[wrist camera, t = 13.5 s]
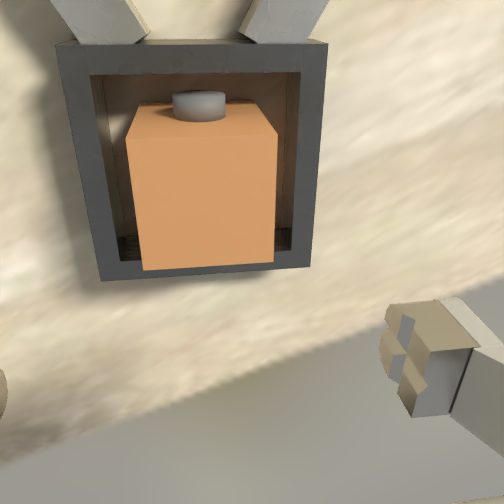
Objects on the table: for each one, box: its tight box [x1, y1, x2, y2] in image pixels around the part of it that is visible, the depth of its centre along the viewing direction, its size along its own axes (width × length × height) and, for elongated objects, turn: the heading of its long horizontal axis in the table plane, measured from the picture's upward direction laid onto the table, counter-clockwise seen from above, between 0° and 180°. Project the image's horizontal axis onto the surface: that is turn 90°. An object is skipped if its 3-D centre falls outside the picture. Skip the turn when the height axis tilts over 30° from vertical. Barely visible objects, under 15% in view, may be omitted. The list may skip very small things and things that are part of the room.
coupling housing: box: [50, 0, 329, 281], centre depth 18 cm, size 13×16×2 cm
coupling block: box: [125, 90, 278, 271], centre depth 18 cm, size 5×7×6 cm
